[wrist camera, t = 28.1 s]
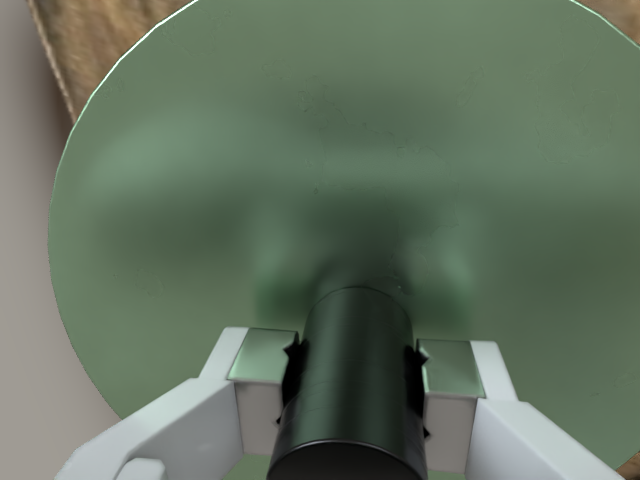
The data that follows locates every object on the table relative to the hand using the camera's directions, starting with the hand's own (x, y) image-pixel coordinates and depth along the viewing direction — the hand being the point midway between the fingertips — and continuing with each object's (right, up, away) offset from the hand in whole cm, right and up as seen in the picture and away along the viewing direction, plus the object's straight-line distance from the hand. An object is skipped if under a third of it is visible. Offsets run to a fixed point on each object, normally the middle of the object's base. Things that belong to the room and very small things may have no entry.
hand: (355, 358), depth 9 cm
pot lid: (0, +1, +1) cm, 2 cm away
